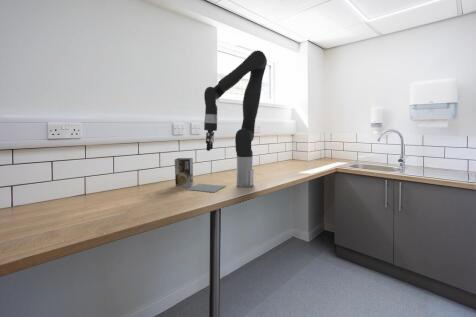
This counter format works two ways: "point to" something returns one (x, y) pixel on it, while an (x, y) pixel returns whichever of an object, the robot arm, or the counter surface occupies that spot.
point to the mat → (206, 188)
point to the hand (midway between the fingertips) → (209, 149)
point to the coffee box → (184, 172)
